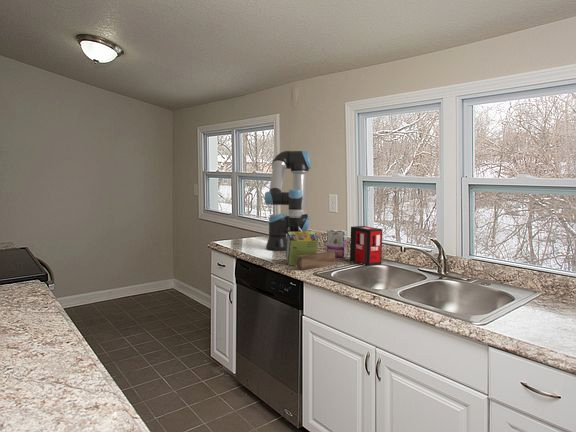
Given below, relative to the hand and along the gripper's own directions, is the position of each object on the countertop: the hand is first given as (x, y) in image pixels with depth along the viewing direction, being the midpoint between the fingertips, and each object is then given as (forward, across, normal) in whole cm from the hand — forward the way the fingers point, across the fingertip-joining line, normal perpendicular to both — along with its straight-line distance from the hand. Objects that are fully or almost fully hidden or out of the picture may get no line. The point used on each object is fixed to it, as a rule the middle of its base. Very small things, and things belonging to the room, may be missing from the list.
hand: (293, 257), depth 246 cm
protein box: (0, +6, -1) cm, 6 cm away
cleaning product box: (+2, +26, +31) cm, 41 cm away
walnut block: (+2, +19, 0) cm, 19 cm away
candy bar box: (+2, +4, +30) cm, 31 cm away
